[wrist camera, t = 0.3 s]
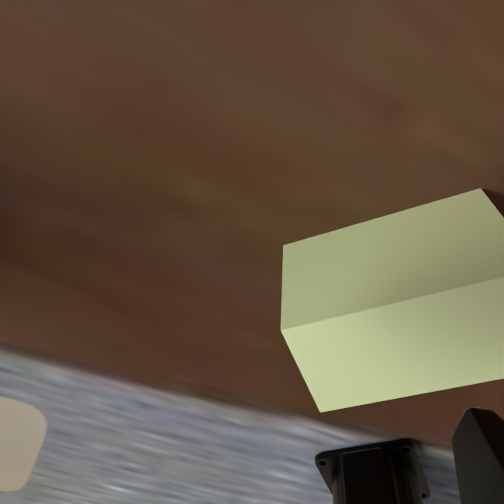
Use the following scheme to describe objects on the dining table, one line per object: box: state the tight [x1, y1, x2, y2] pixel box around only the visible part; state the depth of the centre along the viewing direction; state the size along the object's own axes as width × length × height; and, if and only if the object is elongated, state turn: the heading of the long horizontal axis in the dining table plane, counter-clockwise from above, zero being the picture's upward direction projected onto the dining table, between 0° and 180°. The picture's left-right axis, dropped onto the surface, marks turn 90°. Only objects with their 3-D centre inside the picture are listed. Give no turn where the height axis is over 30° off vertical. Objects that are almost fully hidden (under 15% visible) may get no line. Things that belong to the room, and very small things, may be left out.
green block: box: [281, 188, 504, 412], centre depth 20 cm, size 5×9×6 cm, turn 112°
